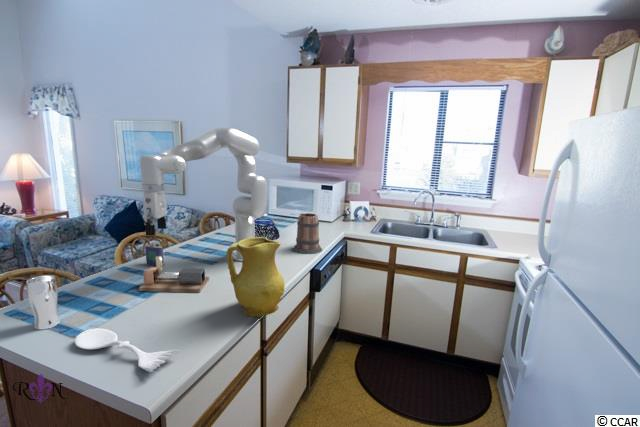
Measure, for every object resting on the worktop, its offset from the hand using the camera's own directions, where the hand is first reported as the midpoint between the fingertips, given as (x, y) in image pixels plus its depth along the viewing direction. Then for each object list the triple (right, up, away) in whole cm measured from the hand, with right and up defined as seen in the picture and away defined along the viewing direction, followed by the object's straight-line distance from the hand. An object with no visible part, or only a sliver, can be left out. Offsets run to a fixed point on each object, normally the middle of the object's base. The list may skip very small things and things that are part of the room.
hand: (156, 231), depth 127 cm
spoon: (+10, -31, -38) cm, 50 cm away
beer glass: (-21, -28, -26) cm, 43 cm away
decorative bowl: (+28, -8, +79) cm, 84 cm away
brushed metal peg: (+3, -19, +4) cm, 20 cm away
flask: (-14, -17, +26) cm, 34 cm away
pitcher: (+42, -26, -10) cm, 50 cm away
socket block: (-4, -20, +4) cm, 21 cm away
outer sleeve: (+12, -21, +5) cm, 24 cm away
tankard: (+58, -13, +60) cm, 84 cm away
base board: (+5, -22, +5) cm, 23 cm away
